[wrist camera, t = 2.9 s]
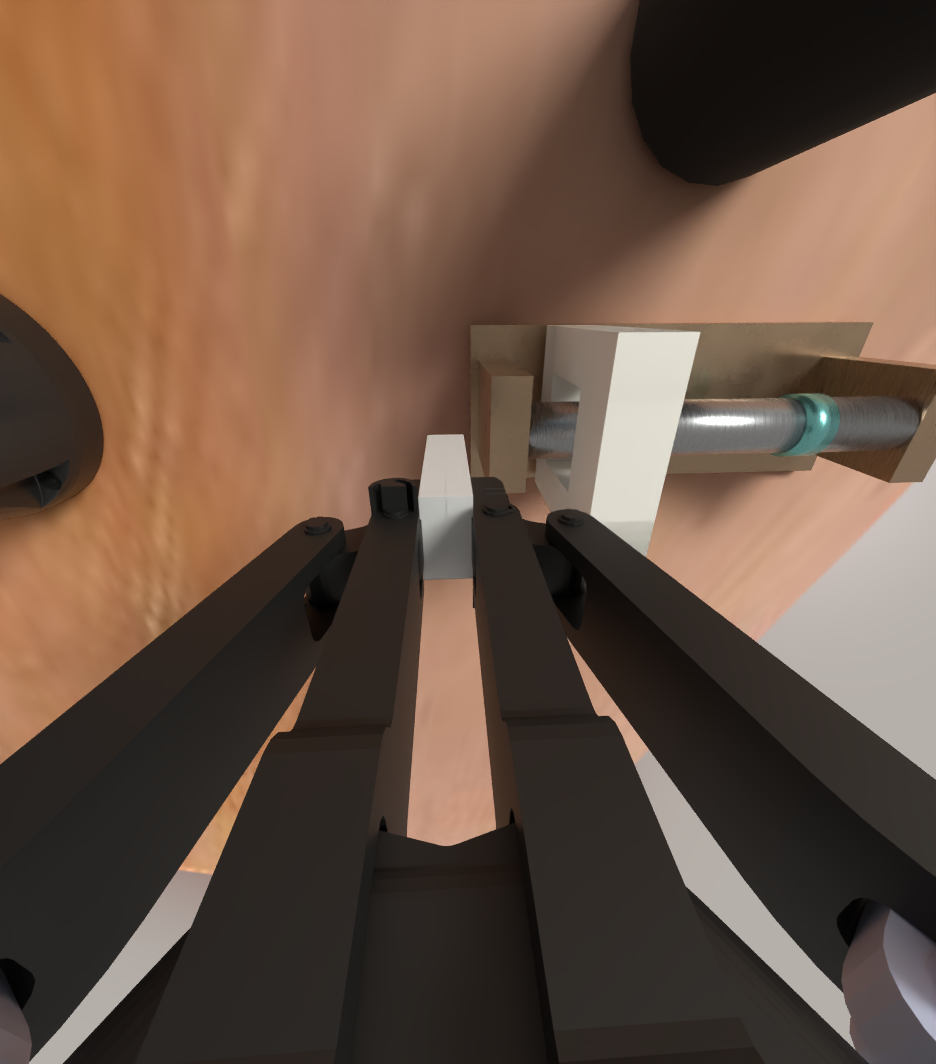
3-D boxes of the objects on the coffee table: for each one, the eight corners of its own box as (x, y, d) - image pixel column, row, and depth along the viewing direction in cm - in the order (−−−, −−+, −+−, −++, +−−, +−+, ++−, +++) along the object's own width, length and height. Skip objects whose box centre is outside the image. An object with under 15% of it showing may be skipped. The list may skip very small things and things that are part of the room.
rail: (469, 474, 30) (479, 528, 23) (469, 325, 26) (481, 329, 18) (800, 465, 32) (915, 514, 24) (859, 322, 27) (1026, 325, 19)
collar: (534, 482, 29) (582, 567, 19) (547, 325, 24) (618, 332, 14) (576, 481, 29) (643, 565, 19) (596, 324, 24) (700, 331, 14)
